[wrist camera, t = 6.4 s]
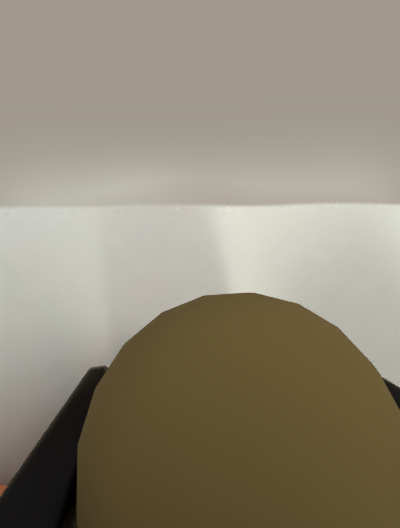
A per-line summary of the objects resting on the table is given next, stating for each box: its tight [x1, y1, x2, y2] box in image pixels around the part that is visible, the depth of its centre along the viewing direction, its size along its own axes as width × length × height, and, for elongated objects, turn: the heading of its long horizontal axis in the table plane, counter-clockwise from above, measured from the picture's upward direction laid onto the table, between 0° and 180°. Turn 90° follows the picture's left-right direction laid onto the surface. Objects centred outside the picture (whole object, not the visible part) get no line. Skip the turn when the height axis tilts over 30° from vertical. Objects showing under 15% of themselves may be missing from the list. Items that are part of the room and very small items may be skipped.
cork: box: [76, 293, 400, 528], centre depth 9 cm, size 6×6×11 cm
